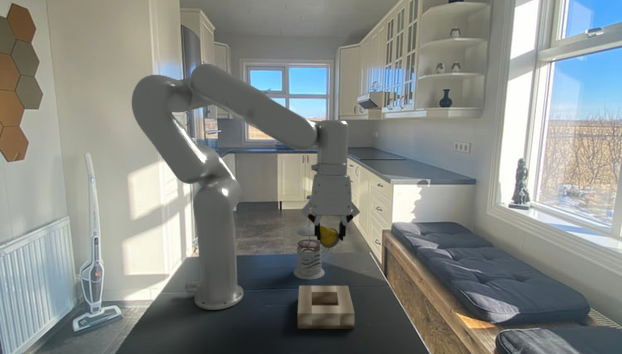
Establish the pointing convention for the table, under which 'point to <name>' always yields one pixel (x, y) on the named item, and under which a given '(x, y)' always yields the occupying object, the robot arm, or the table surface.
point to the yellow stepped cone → (328, 237)
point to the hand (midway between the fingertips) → (329, 238)
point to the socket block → (325, 308)
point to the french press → (309, 254)
